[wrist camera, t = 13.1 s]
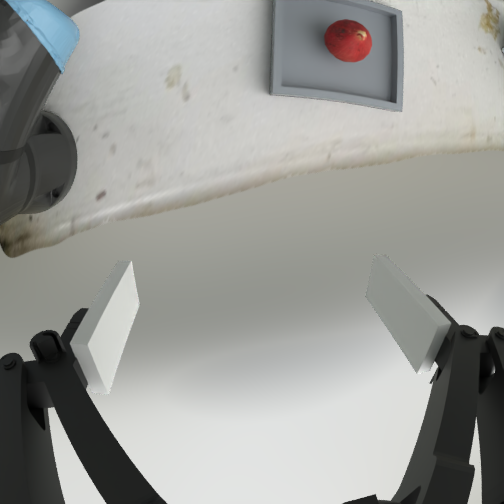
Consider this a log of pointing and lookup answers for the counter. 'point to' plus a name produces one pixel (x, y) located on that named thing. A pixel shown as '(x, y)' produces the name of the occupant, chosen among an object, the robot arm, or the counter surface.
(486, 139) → the counter surface
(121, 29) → the counter surface
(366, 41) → the onion
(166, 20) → the counter surface
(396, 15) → the tray
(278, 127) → the counter surface
